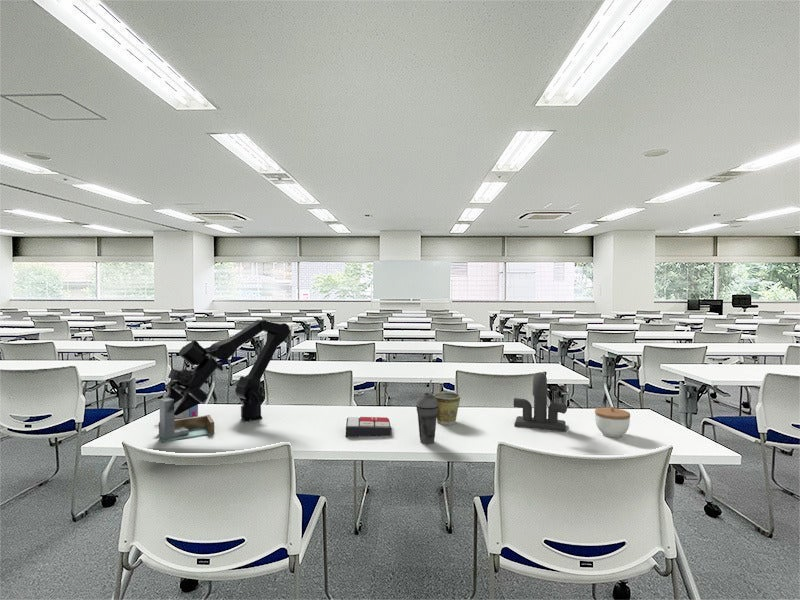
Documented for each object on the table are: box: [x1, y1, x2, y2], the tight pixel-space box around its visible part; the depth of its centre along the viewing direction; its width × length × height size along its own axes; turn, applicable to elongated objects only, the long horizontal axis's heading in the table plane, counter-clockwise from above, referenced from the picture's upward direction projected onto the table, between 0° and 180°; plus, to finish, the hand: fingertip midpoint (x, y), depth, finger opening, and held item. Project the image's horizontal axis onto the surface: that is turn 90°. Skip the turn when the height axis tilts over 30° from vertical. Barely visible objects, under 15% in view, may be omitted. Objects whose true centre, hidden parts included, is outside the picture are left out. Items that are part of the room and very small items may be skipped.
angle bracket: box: [159, 397, 189, 440], centre depth 144 cm, size 8×4×12 cm, turn 139°
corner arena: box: [158, 414, 215, 443], centre depth 148 cm, size 16×10×4 cm, turn 122°
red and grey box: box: [345, 416, 392, 438], centre depth 151 cm, size 11×4×15 cm
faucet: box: [513, 372, 568, 433], centre depth 153 cm, size 18×16×20 cm
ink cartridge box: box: [167, 389, 199, 419], centre depth 168 cm, size 10×6×14 cm, turn 78°
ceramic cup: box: [432, 391, 461, 426], centre depth 162 cm, size 13×10×10 cm
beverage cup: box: [415, 379, 439, 445], centre depth 140 cm, size 7×7×20 cm
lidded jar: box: [594, 406, 631, 439], centre depth 147 cm, size 11×11×9 cm
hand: (168, 412), depth 143 cm, fingers open, 9 cm apart
